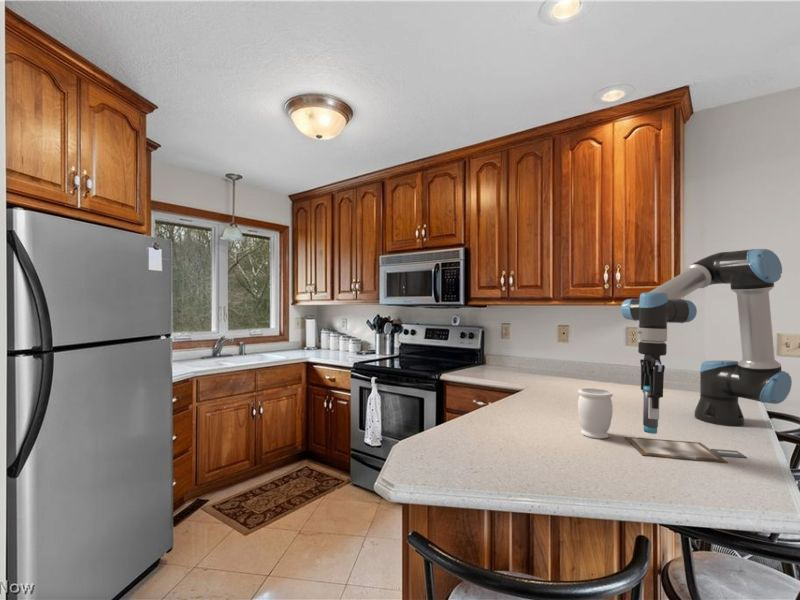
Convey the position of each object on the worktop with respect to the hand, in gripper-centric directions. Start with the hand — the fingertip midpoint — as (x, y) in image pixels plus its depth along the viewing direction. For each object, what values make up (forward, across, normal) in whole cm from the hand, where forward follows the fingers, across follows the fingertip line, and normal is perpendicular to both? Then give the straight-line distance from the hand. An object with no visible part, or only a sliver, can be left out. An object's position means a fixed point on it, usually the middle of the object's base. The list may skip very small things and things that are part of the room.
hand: (650, 416), depth 128 cm
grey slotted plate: (+10, 0, +21) cm, 23 cm away
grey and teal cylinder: (+5, 0, 0) cm, 5 cm away
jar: (+10, -9, -14) cm, 19 cm away
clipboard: (+10, 0, +6) cm, 12 cm away
